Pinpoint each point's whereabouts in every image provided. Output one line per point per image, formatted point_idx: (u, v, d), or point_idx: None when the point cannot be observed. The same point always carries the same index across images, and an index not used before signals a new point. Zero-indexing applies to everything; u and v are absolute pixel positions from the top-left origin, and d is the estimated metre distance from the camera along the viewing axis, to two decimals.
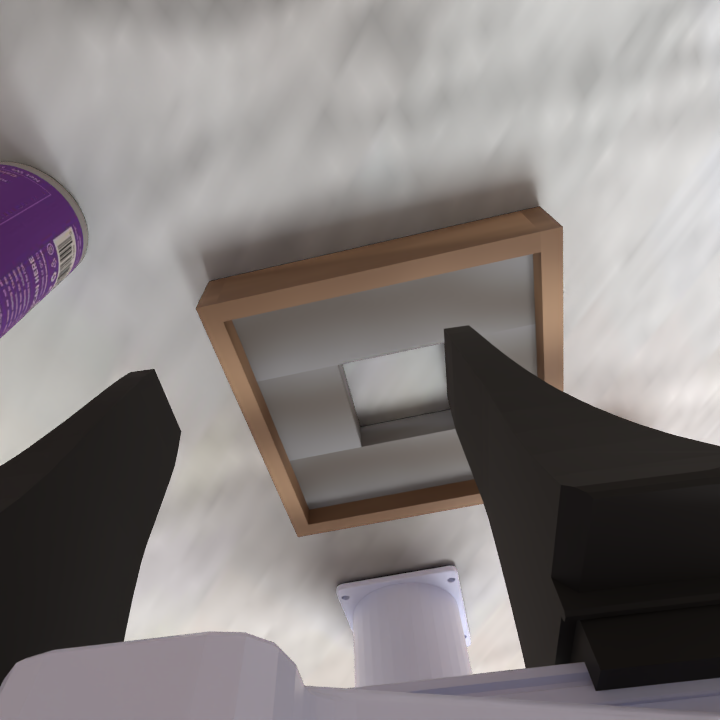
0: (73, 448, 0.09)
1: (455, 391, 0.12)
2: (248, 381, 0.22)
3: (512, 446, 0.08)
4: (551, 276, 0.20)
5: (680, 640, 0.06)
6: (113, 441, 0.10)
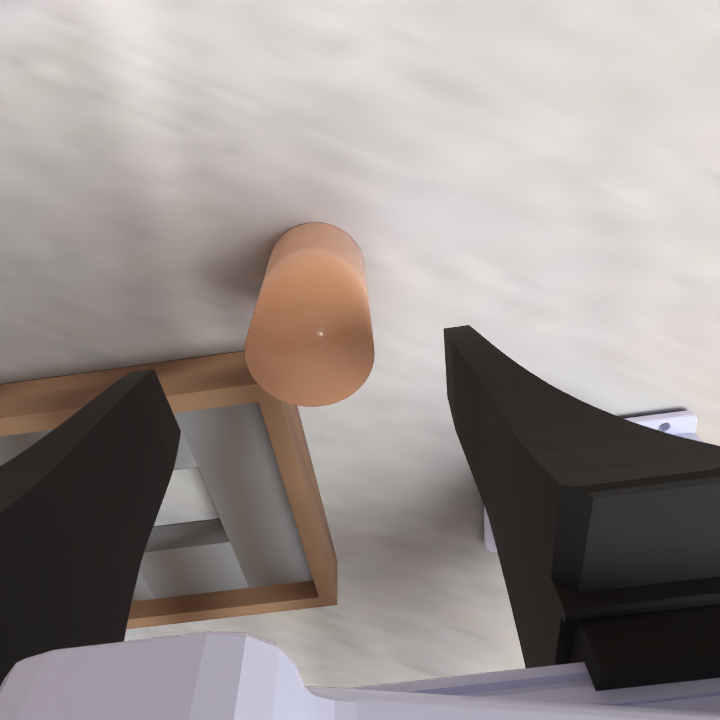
0: (73, 448, 0.09)
1: (455, 391, 0.12)
2: (135, 618, 0.26)
3: (512, 446, 0.08)
4: None
5: (680, 640, 0.06)
6: (113, 441, 0.10)
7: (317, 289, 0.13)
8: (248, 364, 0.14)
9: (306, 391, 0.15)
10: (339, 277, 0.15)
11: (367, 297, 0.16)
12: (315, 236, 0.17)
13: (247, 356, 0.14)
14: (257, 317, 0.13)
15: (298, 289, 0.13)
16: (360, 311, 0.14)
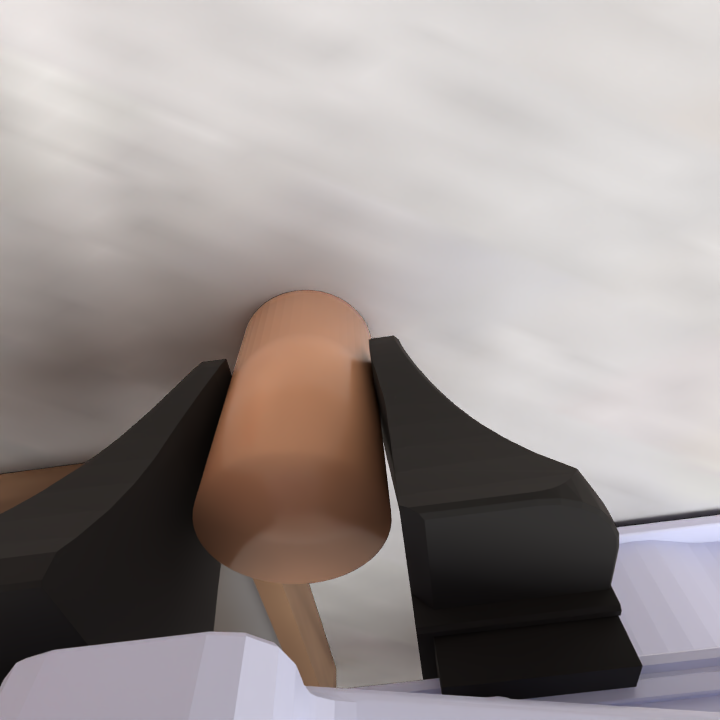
0: (170, 435, 0.09)
1: None
2: None
3: None
4: None
5: (525, 657, 0.06)
6: (199, 429, 0.10)
7: (303, 431, 0.09)
8: (199, 537, 0.09)
9: (289, 567, 0.10)
10: (337, 398, 0.10)
11: (378, 411, 0.11)
12: (305, 317, 0.12)
13: (197, 527, 0.09)
14: (209, 477, 0.09)
15: (273, 432, 0.09)
16: (370, 459, 0.09)
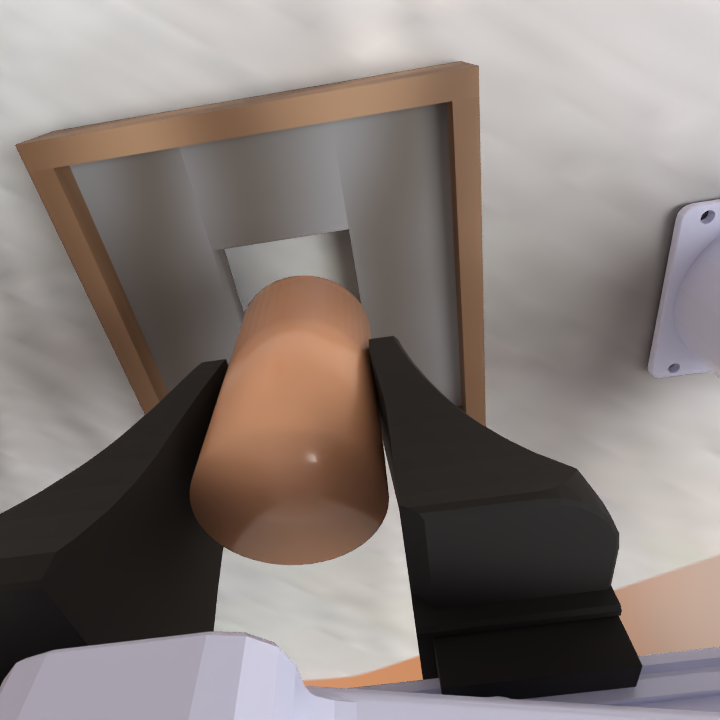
0: (170, 435, 0.09)
1: None
2: None
3: None
4: (81, 149, 0.16)
5: (525, 657, 0.06)
6: (199, 429, 0.10)
7: (311, 410, 0.09)
8: (194, 509, 0.09)
9: (280, 546, 0.10)
10: (343, 381, 0.10)
11: None
12: (310, 301, 0.12)
13: (193, 498, 0.09)
14: (213, 448, 0.08)
15: (281, 408, 0.09)
16: (373, 443, 0.09)
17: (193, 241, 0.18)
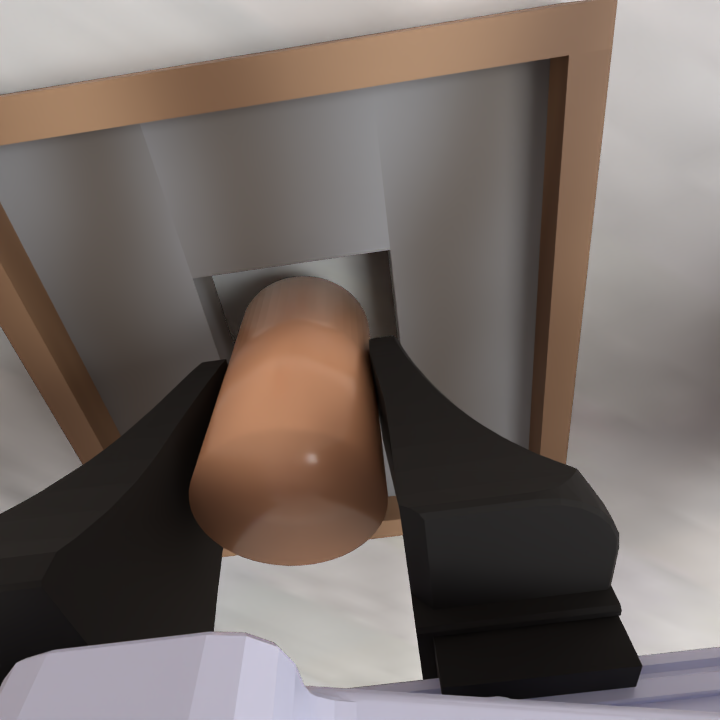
0: (170, 435, 0.09)
1: (377, 401, 0.12)
2: None
3: None
4: None
5: (524, 657, 0.06)
6: (199, 429, 0.10)
7: (311, 411, 0.09)
8: (193, 509, 0.09)
9: (279, 547, 0.10)
10: (343, 382, 0.10)
11: None
12: (310, 302, 0.12)
13: (192, 499, 0.09)
14: (212, 448, 0.08)
15: (280, 409, 0.09)
16: (372, 444, 0.09)
17: (166, 265, 0.13)
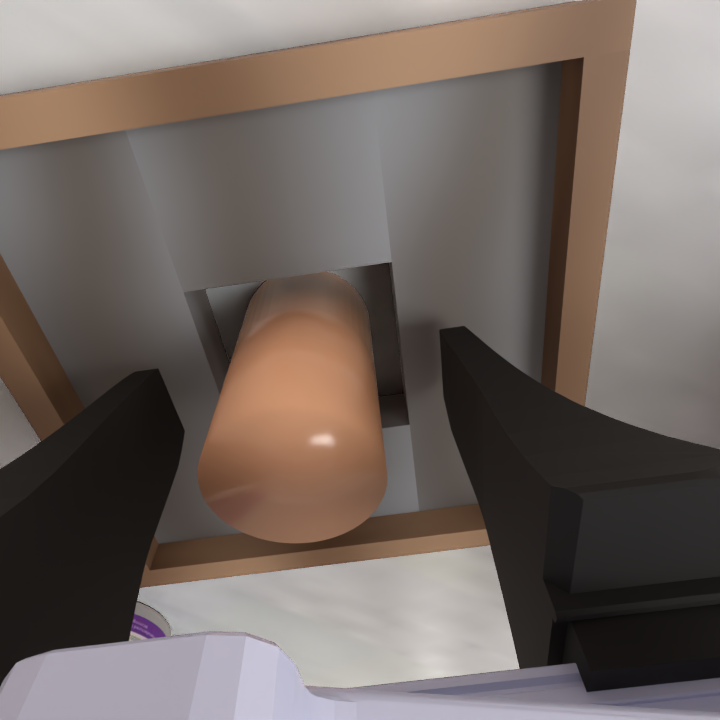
0: (79, 447, 0.09)
1: (450, 392, 0.12)
2: (241, 558, 0.16)
3: (505, 447, 0.08)
4: None
5: (671, 641, 0.06)
6: (118, 440, 0.10)
7: (314, 392, 0.09)
8: (201, 488, 0.10)
9: (283, 525, 0.10)
10: (343, 368, 0.10)
11: None
12: (312, 292, 0.12)
13: (201, 477, 0.09)
14: (220, 428, 0.09)
15: (285, 391, 0.09)
16: (372, 425, 0.10)
17: (154, 278, 0.12)
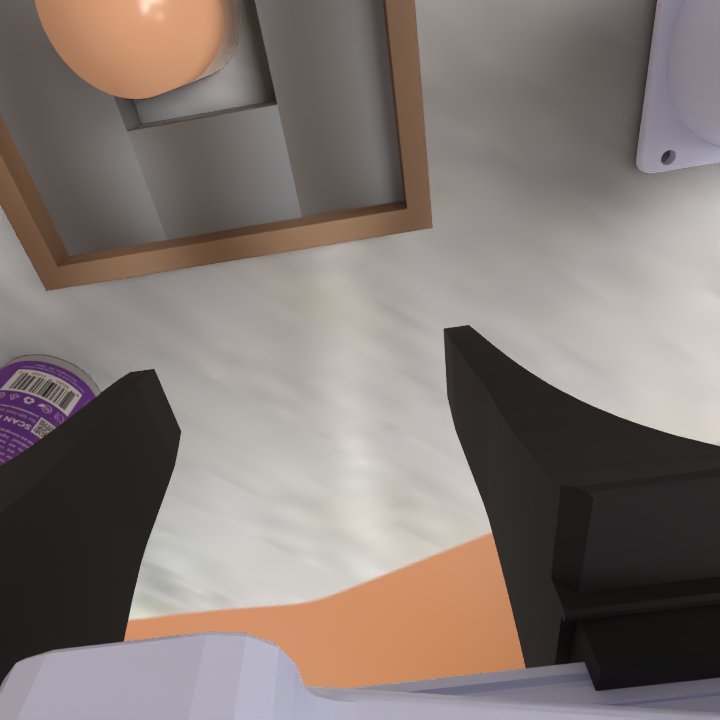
0: (73, 448, 0.09)
1: (455, 391, 0.12)
2: (138, 252, 0.18)
3: (511, 446, 0.08)
4: None
5: (680, 640, 0.06)
6: (113, 441, 0.10)
7: None
8: (40, 15, 0.11)
9: (119, 71, 0.12)
10: None
11: None
12: None
13: (37, 1, 0.11)
14: None
15: None
16: None
17: None
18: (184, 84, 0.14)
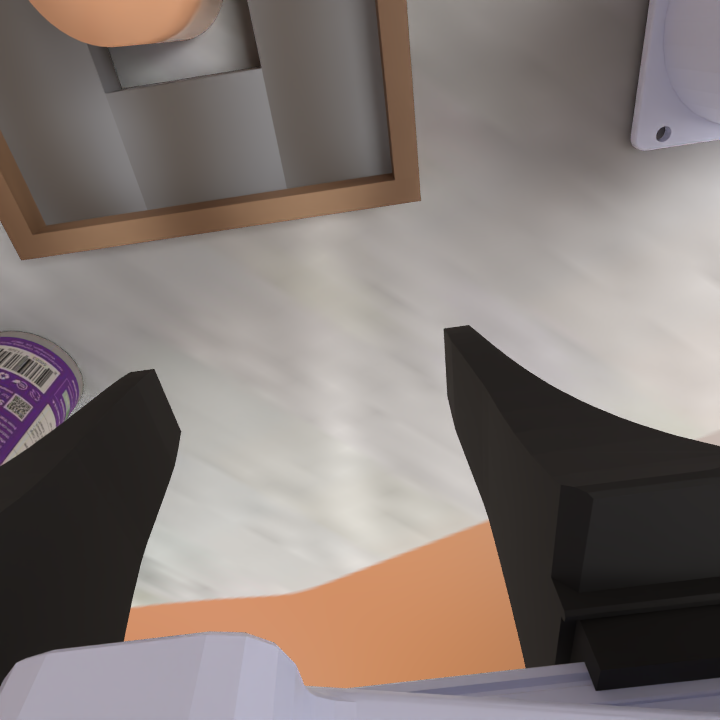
0: (73, 448, 0.09)
1: (455, 391, 0.12)
2: (117, 221, 0.17)
3: (512, 446, 0.08)
4: None
5: (680, 640, 0.06)
6: (113, 441, 0.10)
7: None
8: None
9: (89, 16, 0.11)
10: None
11: None
12: None
13: None
14: None
15: None
16: None
17: None
18: (161, 38, 0.13)
